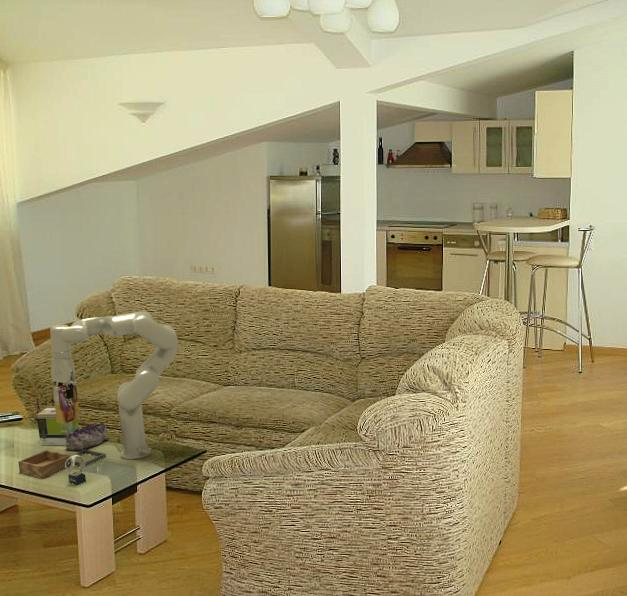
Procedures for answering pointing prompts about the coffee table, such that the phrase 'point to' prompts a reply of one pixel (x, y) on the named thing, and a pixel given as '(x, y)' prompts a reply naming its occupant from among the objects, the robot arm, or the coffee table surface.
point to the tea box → (53, 428)
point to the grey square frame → (100, 455)
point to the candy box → (65, 405)
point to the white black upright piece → (77, 476)
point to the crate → (43, 464)
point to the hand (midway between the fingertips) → (65, 396)
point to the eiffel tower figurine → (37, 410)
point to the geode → (86, 437)
